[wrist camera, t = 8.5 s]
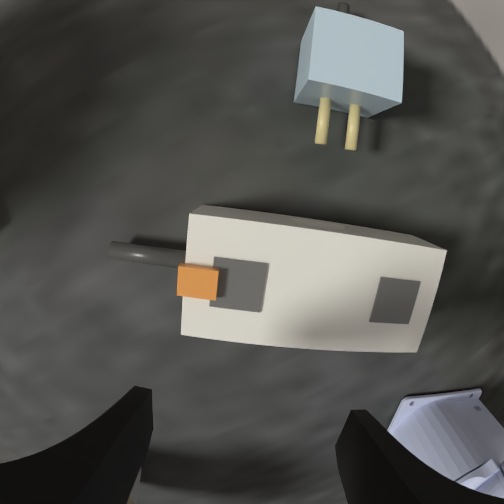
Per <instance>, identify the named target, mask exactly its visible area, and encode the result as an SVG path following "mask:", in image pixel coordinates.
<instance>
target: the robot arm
mask: <svg viewBox="0 0 504 504" xmlns="http://www.w3.org/2000/svg"><path fill="white" fill-rule="evenodd" d="M481 393H482V391H481V389H479V388H478V389H472V390H465V391H458V392H450V393H441V394H432V395H421V396H409V397H405V398H404V399H403V400H402V401H401V403H400V405H399V407H398V409H397V411H396V413H395V416H394V418H393V420H392V422H391V424H390V426H389V428H388V429H387V430H386V429H385V428H384V427H383V426H382V425H381V424H380V423H379V422H378V421H377V420H376V419H375V418H374V417H373V416H372V415H371V414H370V413H369V412H368V411H367V410H351V411H350V414H349V416H348V418H347V421H346V423H345V425H344V427H343V430H342V432H341V434H340V436H339V438H338V441H337V443H336V445H335V448H336V457H337V464H338V470H339V473H340V477H341V481H342V484H343V488H344V491H345V495H346V498H347V502H348V504H504V428H503V427H502V426H501V425H500V424H499V422H498V421H497V420H496V419H495V418H494V416H493V415H492V414H491V413H490V412H489V411H488V409H487V408H486V407H485V406H484V405H483V404H482V402H481V401H480V400H479V397H480V396H481ZM412 401H413V402H412ZM152 431H153V412H152V389H147V388H143V387H138V386H134V387H133V388H132V389H131V390H129V391H128V392H127V393H126V394H125V395H124V396H123V397H122V398H121V399H120V400H119V401H117V402H116V403H115V404H114V405H113V406H112V407H111V408H109V409H108V410H107V411H106V412H104V413H103V414H102V415H101V416H100V417H98V418H97V419H96V420H94V421H93V422H92V423H90V424H89V425H87V426H86V427H85V428H83V429H82V430H80V431H79V432H77V433H76V434H74V435H72V436H71V437H69V438H67V439H66V440H64V441H62V442H60V443H58V444H56V445H54V446H52V447H50V448H48V449H46V450H43V451H41V452H39V453H36V454H33V455H30V456H27V457H24V458H21V459H18V460H14V461H10V462H6V463H1V464H0V504H127V502H128V499H129V496H130V493H131V491H132V488H133V486H134V483H135V481H136V478H137V476H138V473H139V471H140V468H141V466H142V463H143V461H144V458H145V456H146V453H147V451H148V447H149V443H150V439H151V435H152Z"/></svg>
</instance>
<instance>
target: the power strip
mask: <svg viewBox="0 0 504 504" xmlns="http://www.w3.org/2000/svg"><path fill="white" fill-rule="evenodd" d="M108 253H109V257H110V258H112V259H118V260H125V261H132V262H139V263H146V264H153V265H160V266H168V267H175V268H178V282H177V295H178V296H183V303H182V322H181V335H187V336H194V337H201V338H208V339H215V340H223V341H231V342H240V343H249V344H258V345H268V346H279V347H291V348H304V349H318V350H336V351H360V352H417V350H418V347H419V345H420V342H421V339H422V336H423V333H424V330H425V327H426V324H427V321H428V318H429V315H430V312H431V309H432V305H433V302H434V299H435V295H436V292H437V288H438V285H439V281H440V277H441V273H442V269H443V265H444V261H445V257H446V253H447V250H445V249H443V248H440V247H438V246H436V245H434V244H431V243H429V242H427V241H424V240H422V239H420V238H417V237H415V236H413V235H409V234H403V233H397V232H391V231H386V230H380V229H374V228H368V227H362V226H355V225H349V224H343V223H336V222H330V221H323V220H316V219H310V218H303V217H296V216H289V215H281V214H274V213H267V212H259V211H251V210H243V209H235V208H227V207H219V206H210V205H202V206H200V207H199V208H197V209H196V210H194V211H193V212H191V213H190V214H189V223H188V234H187V246H186V251H184V250H176V249H169V248H161V247H153V246H145V245H138V244H130V243H122V242H115V241H112V242H111V243H110V245H109V251H108Z"/></svg>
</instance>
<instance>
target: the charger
mask: <svg viewBox="0 0 504 504" xmlns="http://www.w3.org/2000/svg"><path fill="white" fill-rule="evenodd" d="M403 63H404V31H401V30H398V29H396V28H393V27H390V26H387V25H384V24H381V23H378V22H375V21H371V20H368V19H365V18H361V17H358V16H354V15H350V14H349V4H347V3H344V2H340V3H338V11H334V10H330V9H326V8H321V7H315V9H314V12H313V14H312V16H311V19H310V21H309V24H308V26H307V29H306V31H305V33H304V36H303V38H302V41H301V46H300V55H299V64H298V72H297V80H296V89H295V97H294V103H300V104H306V105H311V106H316V107H319V112H318V120H317V129H316V137H315V144H319V145H327V137H328V129H329V120H330V111H331V110H336V111H341V112H345V113H349V117H348V126H347V135H346V143H345V149H346V150H350V151H356V149H357V141H358V132H359V123H360V116H362V117H366V118H368V117H370V116H373V115H375V114H377V113H380V112H382V111H384V110H387V109H389V108H391V107H394V106H396V105H398V104H401V103H402V91H403Z"/></svg>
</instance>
